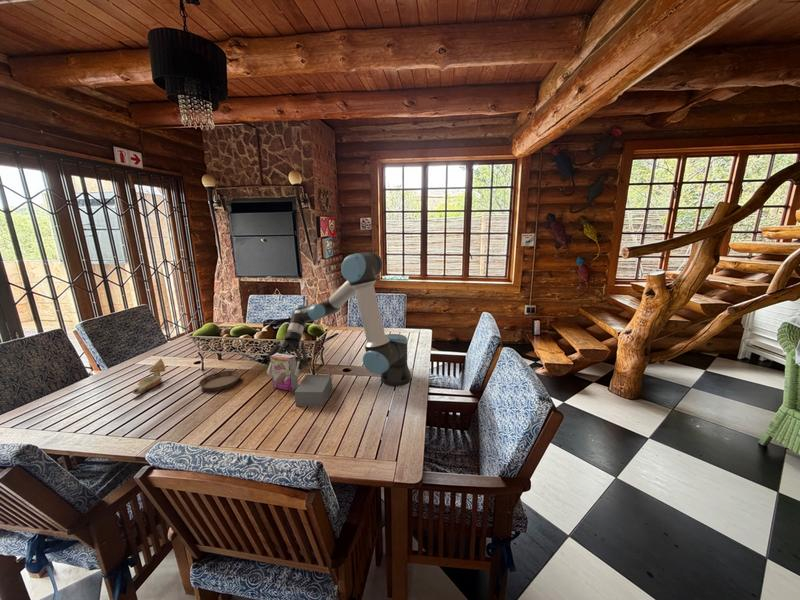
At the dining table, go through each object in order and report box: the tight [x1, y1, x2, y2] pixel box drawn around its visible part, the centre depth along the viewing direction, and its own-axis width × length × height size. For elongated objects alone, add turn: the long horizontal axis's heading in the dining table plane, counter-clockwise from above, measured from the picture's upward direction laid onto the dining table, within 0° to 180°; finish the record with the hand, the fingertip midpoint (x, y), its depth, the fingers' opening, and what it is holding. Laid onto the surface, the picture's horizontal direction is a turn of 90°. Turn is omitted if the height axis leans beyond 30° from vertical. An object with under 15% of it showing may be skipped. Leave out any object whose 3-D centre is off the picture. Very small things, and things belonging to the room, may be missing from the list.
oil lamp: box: [131, 358, 166, 395], centre depth 152 cm, size 9×21×10 cm, turn 6°
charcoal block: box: [294, 374, 333, 407], centre depth 143 cm, size 12×16×7 cm
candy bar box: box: [270, 353, 299, 392], centre depth 150 cm, size 11×5×16 cm, turn 70°
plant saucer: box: [198, 370, 241, 392], centre depth 156 cm, size 18×18×3 cm
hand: (282, 375), depth 148 cm, fingers open, 13 cm apart
